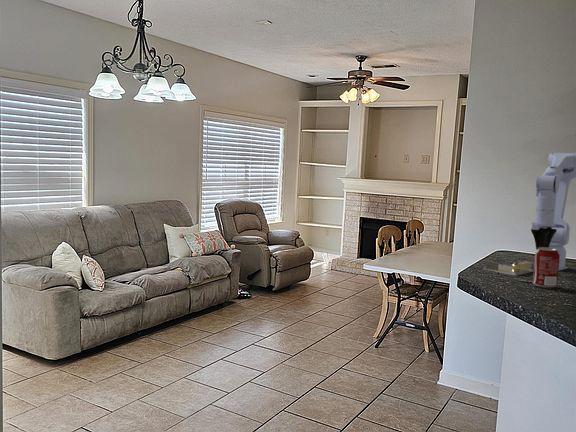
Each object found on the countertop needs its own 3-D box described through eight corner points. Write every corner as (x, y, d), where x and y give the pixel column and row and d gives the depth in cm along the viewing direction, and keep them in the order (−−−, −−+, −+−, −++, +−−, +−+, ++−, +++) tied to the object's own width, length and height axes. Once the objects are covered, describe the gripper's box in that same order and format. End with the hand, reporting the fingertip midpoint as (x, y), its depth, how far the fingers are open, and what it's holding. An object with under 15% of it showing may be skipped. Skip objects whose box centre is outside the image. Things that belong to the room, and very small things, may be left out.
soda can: (559, 290, 155) (563, 250, 153) (536, 288, 156) (539, 249, 155) (553, 285, 161) (556, 247, 160) (530, 283, 162) (533, 246, 161)
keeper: (491, 267, 185) (491, 260, 184) (510, 270, 179) (510, 263, 179) (485, 268, 182) (486, 261, 182) (504, 271, 177) (505, 264, 177)
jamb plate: (500, 265, 191) (500, 263, 191) (532, 271, 182) (533, 269, 182) (482, 269, 183) (483, 267, 183) (516, 275, 174) (516, 273, 174)
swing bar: (517, 272, 175) (517, 263, 174) (510, 271, 177) (510, 262, 176) (531, 268, 182) (532, 260, 182) (524, 267, 184) (525, 259, 184)
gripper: (542, 208, 183) (539, 246, 184) (524, 209, 173) (521, 249, 174) (563, 210, 177) (560, 249, 179) (545, 211, 168) (542, 252, 169)
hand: (542, 249), depth 176 cm, fingers open, 3 cm apart
